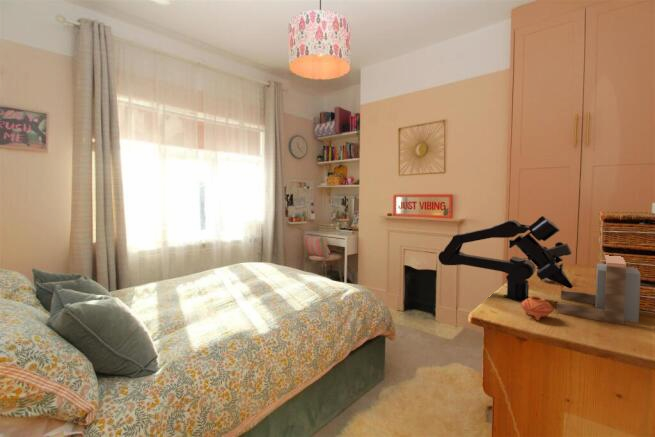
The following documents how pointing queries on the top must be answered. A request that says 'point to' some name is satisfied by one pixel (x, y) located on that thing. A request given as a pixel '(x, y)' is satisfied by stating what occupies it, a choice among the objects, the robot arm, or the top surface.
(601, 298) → the tall block
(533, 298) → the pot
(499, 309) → the top surface
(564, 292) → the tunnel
